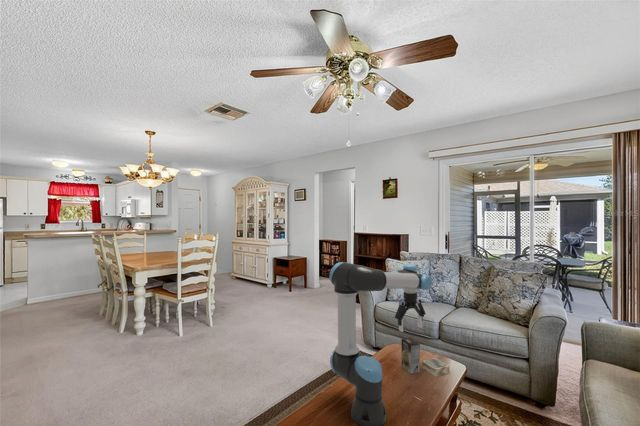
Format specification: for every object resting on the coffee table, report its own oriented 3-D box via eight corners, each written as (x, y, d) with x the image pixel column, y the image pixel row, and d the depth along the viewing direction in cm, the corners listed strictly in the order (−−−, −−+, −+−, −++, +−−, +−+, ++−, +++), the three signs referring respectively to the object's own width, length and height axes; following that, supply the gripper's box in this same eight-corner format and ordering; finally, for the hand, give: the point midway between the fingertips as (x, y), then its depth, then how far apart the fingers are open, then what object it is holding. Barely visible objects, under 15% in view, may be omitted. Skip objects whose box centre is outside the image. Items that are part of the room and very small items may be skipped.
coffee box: (401, 366, 170) (401, 338, 170) (410, 364, 172) (410, 336, 172) (410, 374, 161) (410, 344, 162) (420, 372, 163) (420, 343, 164)
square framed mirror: (435, 376, 158) (435, 368, 159) (422, 368, 168) (422, 360, 168) (449, 373, 162) (449, 365, 163) (435, 364, 172) (435, 357, 172)
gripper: (396, 295, 159) (397, 335, 159) (431, 291, 169) (432, 327, 169) (388, 292, 166) (388, 330, 166) (422, 288, 176) (422, 323, 176)
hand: (410, 329), depth 167 cm, fingers open, 13 cm apart
